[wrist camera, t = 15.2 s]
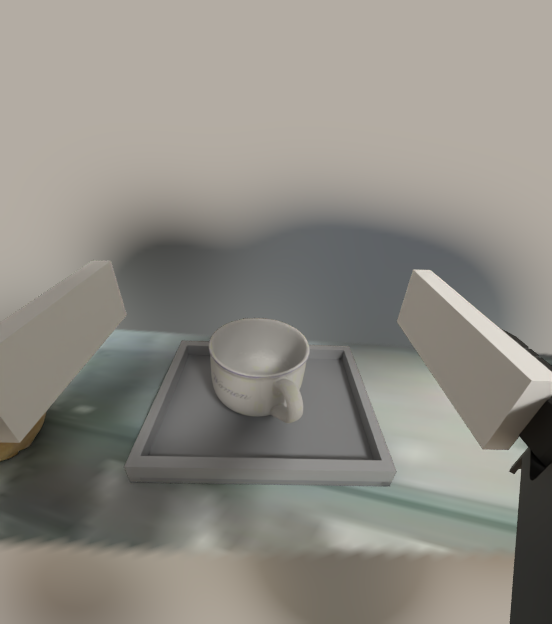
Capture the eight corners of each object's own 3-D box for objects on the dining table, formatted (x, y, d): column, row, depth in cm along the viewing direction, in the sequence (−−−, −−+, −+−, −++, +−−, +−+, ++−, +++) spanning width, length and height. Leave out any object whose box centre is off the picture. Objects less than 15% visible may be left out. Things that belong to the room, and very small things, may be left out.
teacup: (210, 369, 37) (205, 319, 33) (287, 358, 40) (292, 310, 36) (221, 471, 26) (215, 414, 22) (328, 446, 29) (341, 390, 24)
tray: (346, 359, 42) (349, 346, 40) (389, 486, 26) (396, 471, 25) (184, 354, 41) (181, 340, 40) (130, 482, 25) (123, 466, 24)
